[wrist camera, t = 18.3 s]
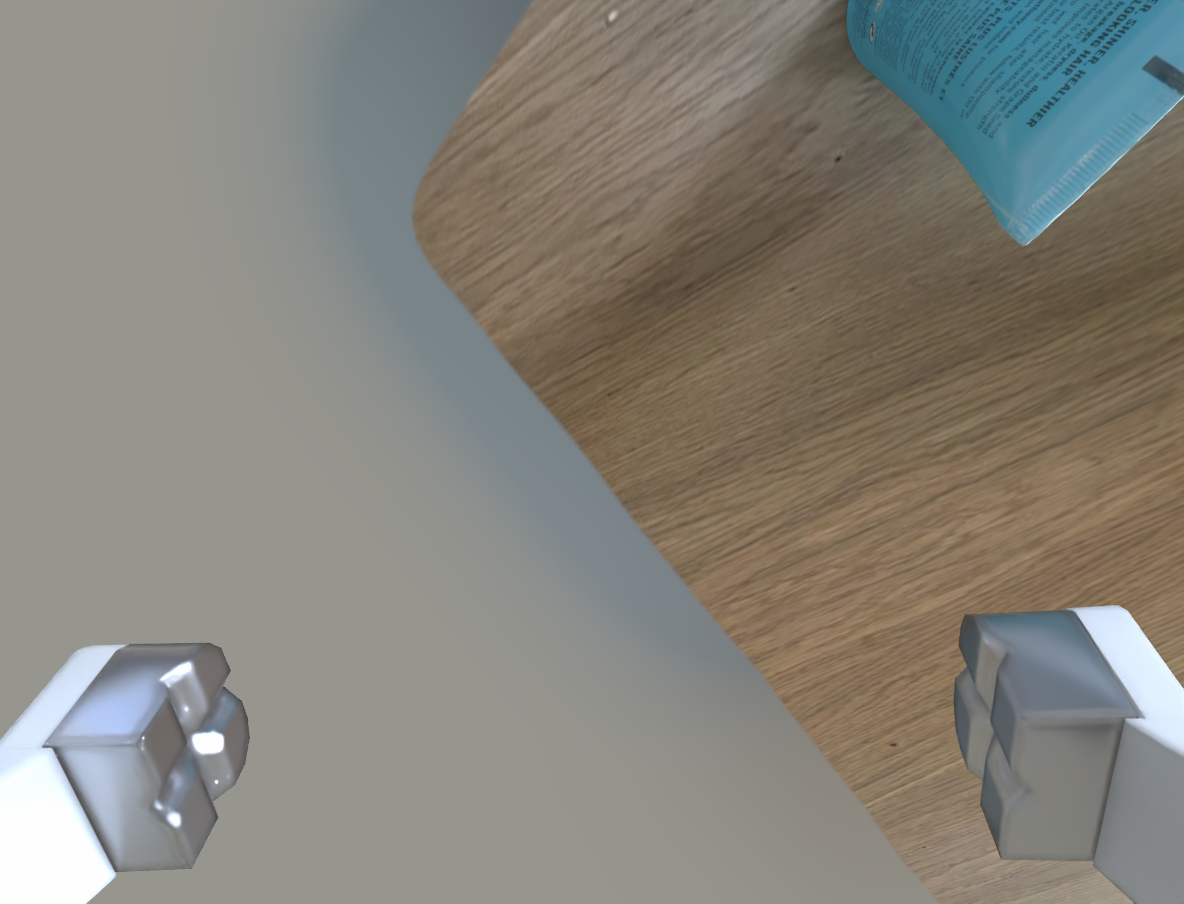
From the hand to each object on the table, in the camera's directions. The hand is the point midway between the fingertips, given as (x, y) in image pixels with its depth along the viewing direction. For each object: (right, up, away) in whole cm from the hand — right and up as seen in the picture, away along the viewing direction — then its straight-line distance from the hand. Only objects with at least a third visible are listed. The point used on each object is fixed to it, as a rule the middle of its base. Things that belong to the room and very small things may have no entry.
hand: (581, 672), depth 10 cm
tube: (+12, +18, +23) cm, 31 cm away
